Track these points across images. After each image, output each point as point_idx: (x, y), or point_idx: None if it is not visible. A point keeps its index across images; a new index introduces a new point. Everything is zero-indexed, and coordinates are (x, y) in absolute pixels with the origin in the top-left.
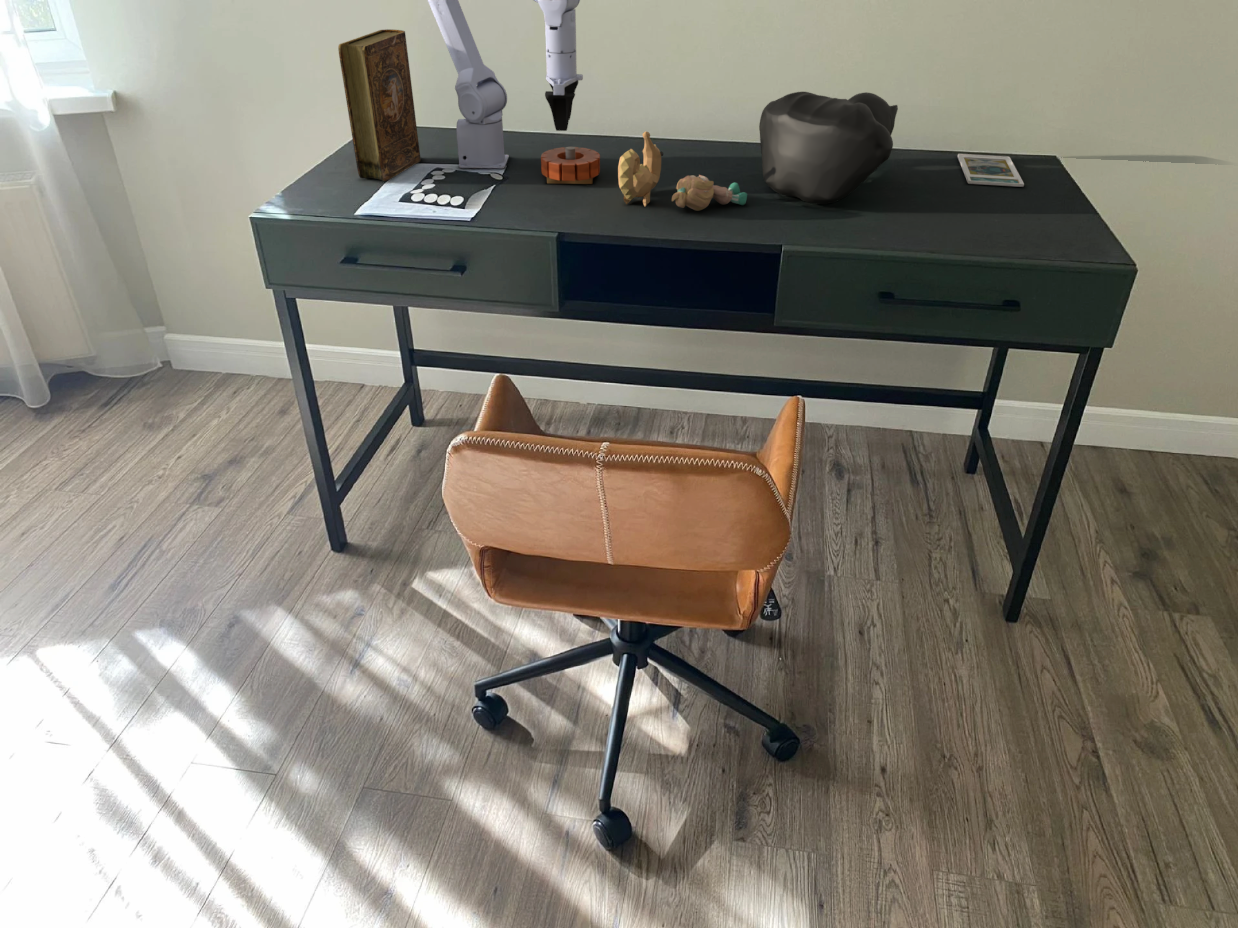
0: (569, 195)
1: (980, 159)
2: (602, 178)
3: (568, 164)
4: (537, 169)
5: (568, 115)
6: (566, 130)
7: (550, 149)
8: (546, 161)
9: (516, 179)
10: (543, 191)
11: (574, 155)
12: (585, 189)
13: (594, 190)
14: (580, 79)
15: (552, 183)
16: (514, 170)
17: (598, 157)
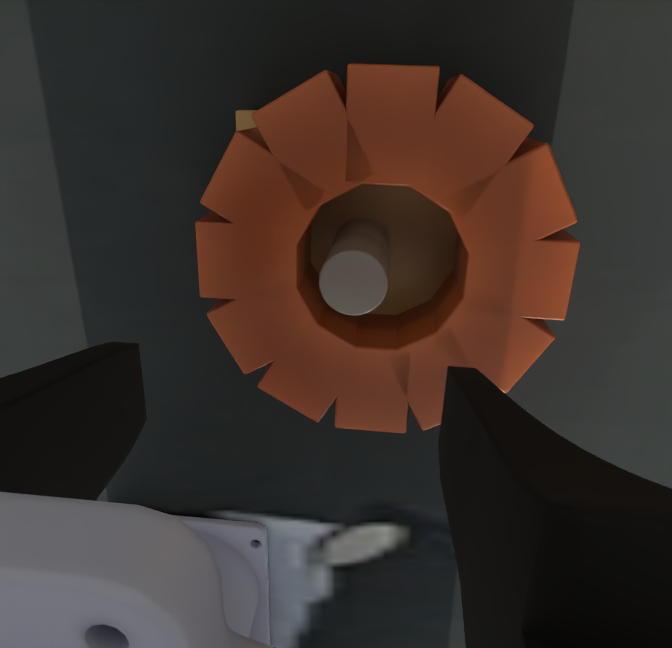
0: (664, 241)
1: None
2: (394, 54)
3: (566, 281)
4: (255, 395)
5: (541, 425)
6: (477, 370)
7: (258, 386)
8: None
9: (396, 475)
10: (578, 365)
11: (375, 246)
12: (579, 155)
13: (605, 101)
14: (209, 576)
15: None
16: (275, 484)
17: (426, 72)
